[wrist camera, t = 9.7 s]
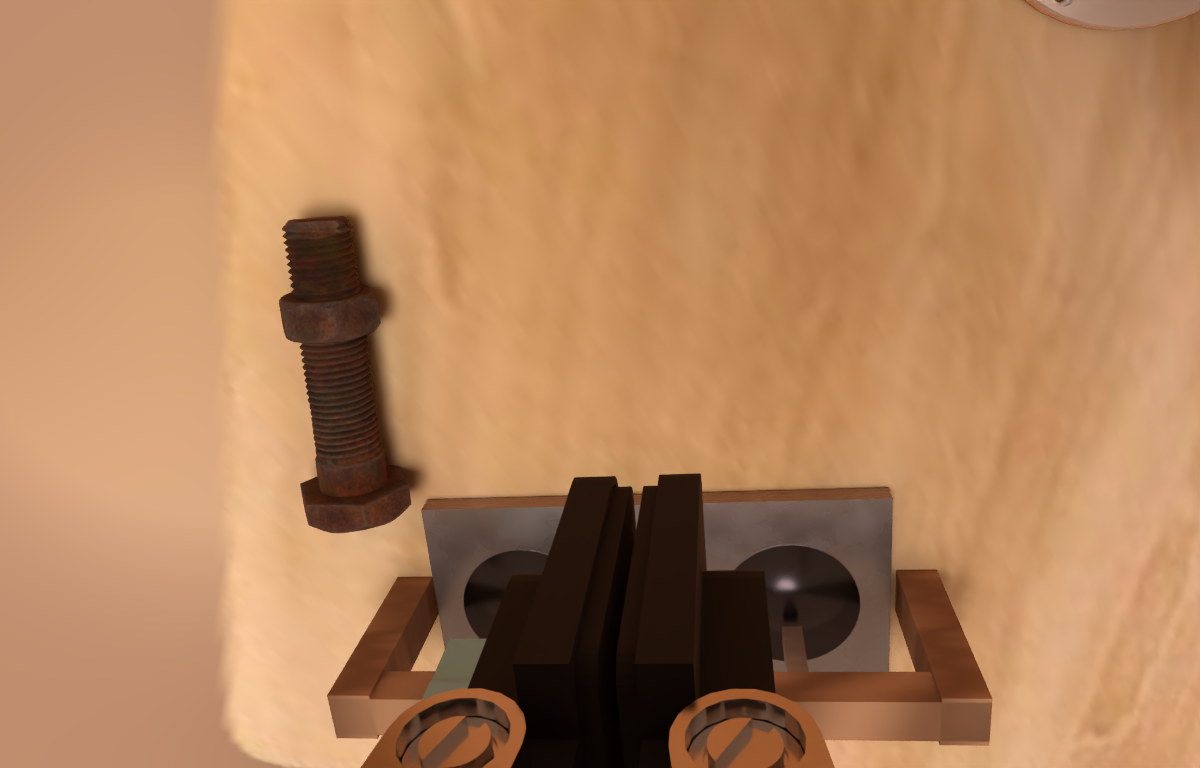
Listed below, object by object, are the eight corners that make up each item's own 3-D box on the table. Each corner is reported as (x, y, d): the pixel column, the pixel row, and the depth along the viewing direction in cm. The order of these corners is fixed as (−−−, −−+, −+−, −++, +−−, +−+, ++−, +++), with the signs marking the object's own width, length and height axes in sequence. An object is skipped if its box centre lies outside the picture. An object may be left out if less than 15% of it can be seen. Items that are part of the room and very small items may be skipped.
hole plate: (888, 487, 46) (892, 499, 44) (883, 685, 50) (888, 700, 48) (427, 499, 49) (420, 510, 48) (458, 684, 53) (452, 698, 52)
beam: (936, 569, 47) (992, 698, 38) (934, 624, 48) (988, 762, 39) (397, 577, 51) (327, 695, 42) (407, 627, 52) (340, 753, 43)
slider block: (550, 576, 48) (503, 730, 37) (558, 646, 49) (515, 814, 38) (476, 577, 48) (408, 729, 37) (487, 646, 50) (424, 812, 39)
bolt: (361, 208, 46) (395, 481, 50) (255, 217, 44) (301, 500, 49) (381, 220, 41) (418, 522, 45) (263, 231, 39) (314, 545, 43)
